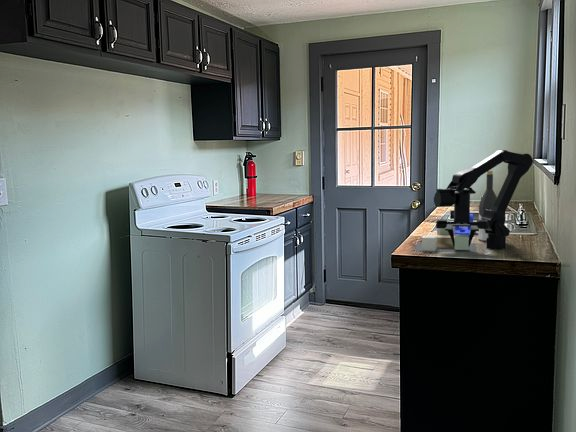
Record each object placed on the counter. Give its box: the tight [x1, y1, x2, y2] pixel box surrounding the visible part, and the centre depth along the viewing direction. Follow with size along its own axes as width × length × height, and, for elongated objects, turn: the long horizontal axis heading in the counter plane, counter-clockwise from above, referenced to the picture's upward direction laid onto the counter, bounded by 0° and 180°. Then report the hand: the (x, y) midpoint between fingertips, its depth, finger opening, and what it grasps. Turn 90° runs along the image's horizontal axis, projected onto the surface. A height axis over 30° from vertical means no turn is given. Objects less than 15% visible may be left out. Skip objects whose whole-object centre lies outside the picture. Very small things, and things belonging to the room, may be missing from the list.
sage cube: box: [455, 234, 469, 250], centre depth 209 cm, size 5×5×5 cm
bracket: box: [455, 213, 474, 236], centre depth 251 cm, size 18×8×9 cm, turn 159°
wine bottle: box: [478, 170, 498, 243], centre depth 227 cm, size 8×8×30 cm
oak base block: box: [436, 234, 455, 248], centre depth 218 cm, size 7×7×4 cm
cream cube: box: [421, 235, 437, 252], centre depth 212 cm, size 5×5×5 cm
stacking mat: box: [413, 226, 478, 254], centre depth 216 cm, size 23×20×9 cm
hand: (461, 246), depth 209 cm, fingers closed on sage cube, 5 cm apart
